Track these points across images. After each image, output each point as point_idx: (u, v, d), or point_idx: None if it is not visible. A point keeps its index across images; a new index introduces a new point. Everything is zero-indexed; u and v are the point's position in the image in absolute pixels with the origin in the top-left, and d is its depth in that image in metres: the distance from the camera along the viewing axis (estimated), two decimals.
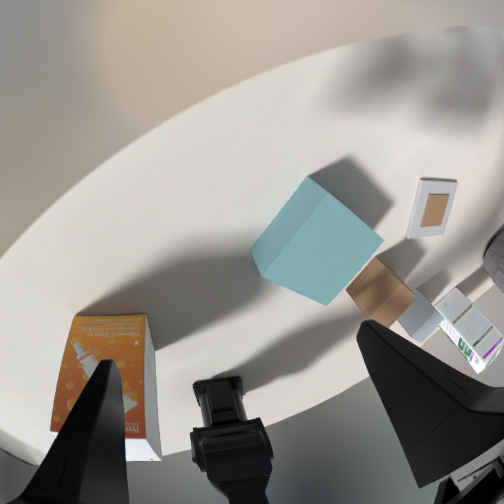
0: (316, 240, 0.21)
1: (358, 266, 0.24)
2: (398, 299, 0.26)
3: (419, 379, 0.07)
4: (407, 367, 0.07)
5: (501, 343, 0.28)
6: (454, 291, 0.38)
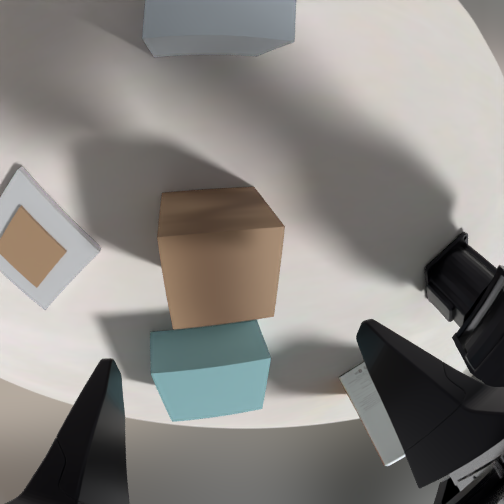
0: (209, 408, 0.20)
1: (200, 372, 0.17)
2: (199, 296, 0.12)
3: (419, 379, 0.07)
4: (407, 367, 0.07)
5: None
6: None
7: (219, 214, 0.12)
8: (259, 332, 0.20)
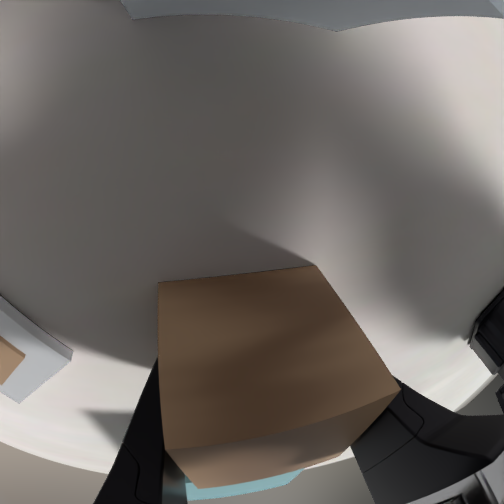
0: (229, 493, 0.14)
1: None
2: (242, 472, 0.06)
3: None
4: None
5: None
6: None
7: (281, 366, 0.06)
8: None
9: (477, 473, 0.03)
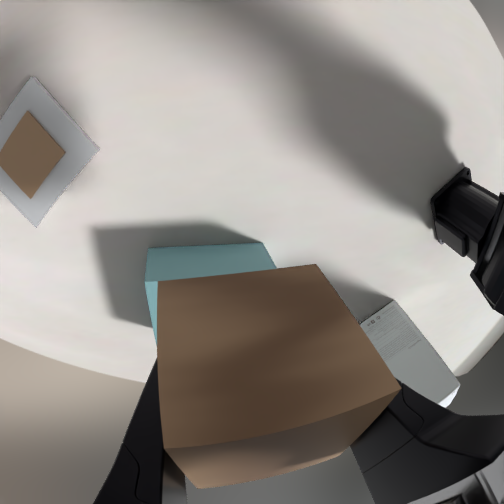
0: None
1: None
2: (241, 472, 0.06)
3: None
4: None
5: None
6: None
7: (281, 365, 0.06)
8: (265, 252, 0.19)
9: (477, 473, 0.03)
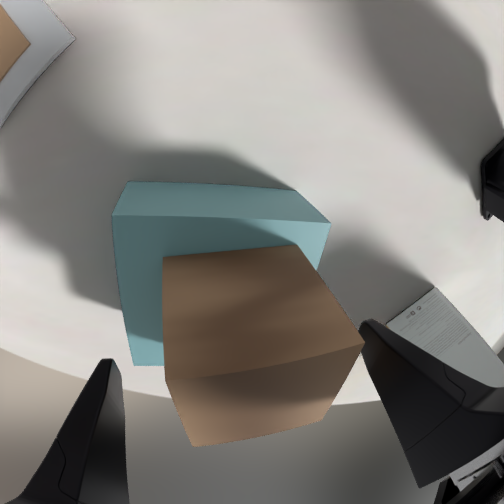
0: None
1: (206, 227, 0.10)
2: (231, 423, 0.08)
3: (419, 379, 0.07)
4: (407, 367, 0.07)
5: None
6: None
7: (262, 319, 0.07)
8: (303, 199, 0.13)
9: None
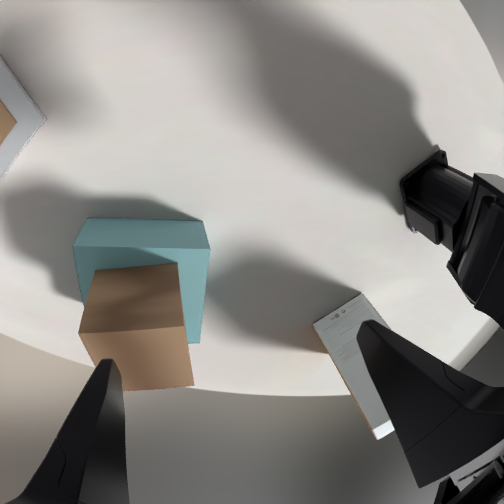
0: None
1: (126, 253, 0.15)
2: (124, 372, 0.12)
3: (419, 379, 0.07)
4: (407, 367, 0.07)
5: None
6: None
7: (132, 307, 0.12)
8: (202, 229, 0.18)
9: None
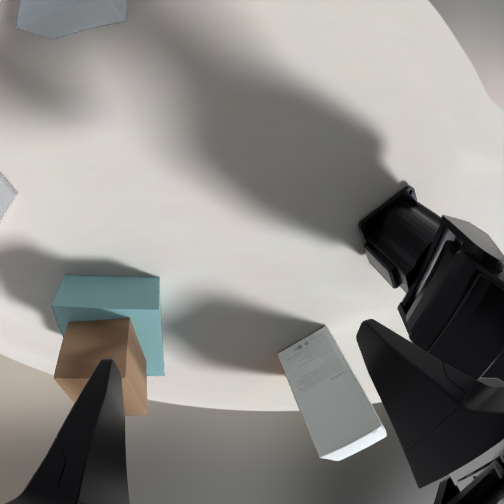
0: None
1: (93, 312, 0.17)
2: None
3: (419, 379, 0.07)
4: (407, 367, 0.07)
5: None
6: None
7: (91, 358, 0.14)
8: (157, 287, 0.20)
9: None
